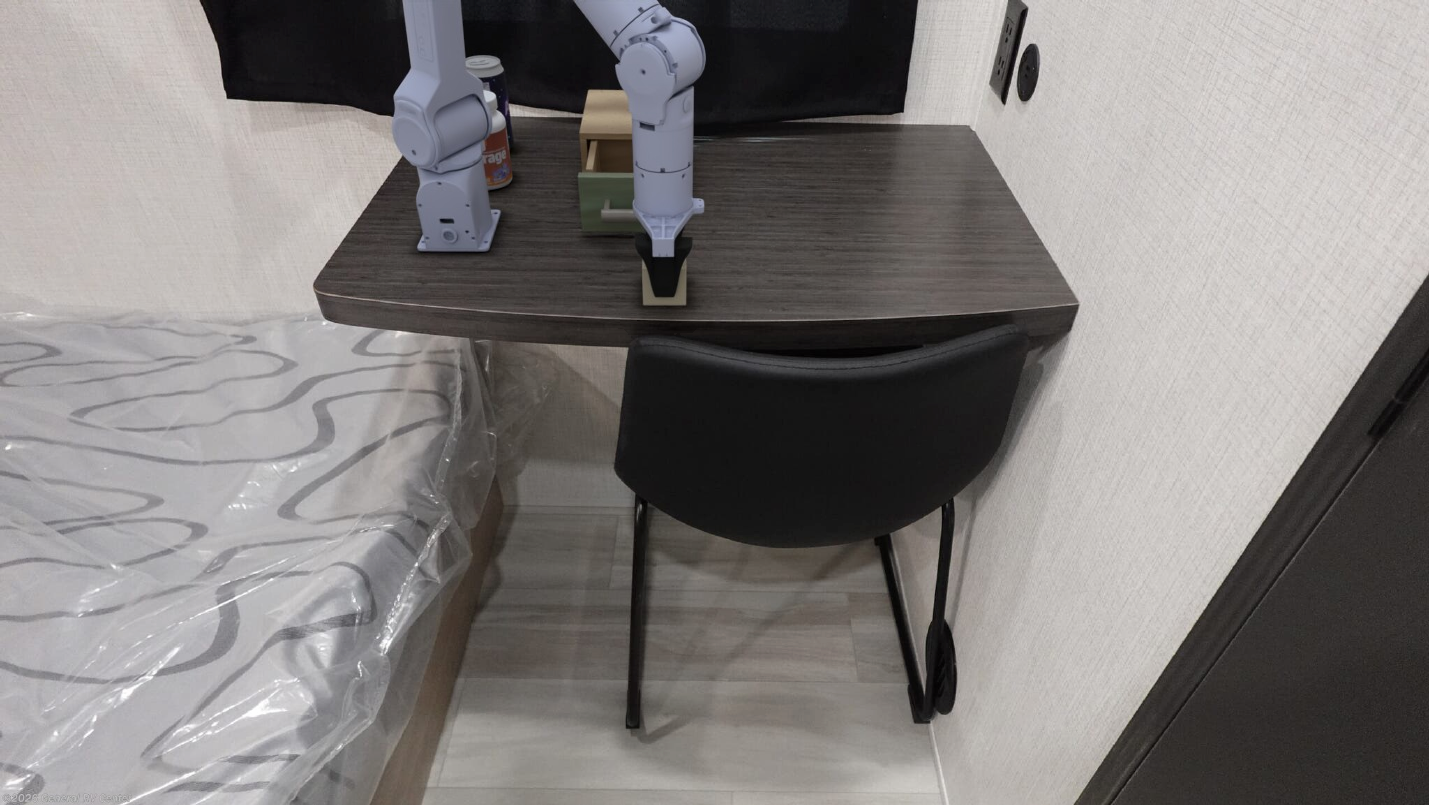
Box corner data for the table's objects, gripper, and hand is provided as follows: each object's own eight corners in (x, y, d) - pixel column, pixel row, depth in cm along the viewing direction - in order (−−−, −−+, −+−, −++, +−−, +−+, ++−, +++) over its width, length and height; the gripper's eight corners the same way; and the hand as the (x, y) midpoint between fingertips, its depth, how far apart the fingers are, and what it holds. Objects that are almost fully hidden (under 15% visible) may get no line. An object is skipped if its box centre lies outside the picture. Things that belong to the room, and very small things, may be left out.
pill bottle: (469, 195, 106) (454, 108, 99) (460, 175, 110) (445, 90, 103) (518, 187, 108) (507, 101, 101) (507, 168, 112) (496, 84, 105)
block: (686, 305, 88) (686, 268, 85) (643, 305, 88) (641, 268, 85) (685, 282, 91) (685, 246, 88) (644, 282, 91) (643, 245, 88)
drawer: (680, 250, 95) (680, 194, 90) (578, 249, 94) (574, 193, 90) (678, 181, 108) (678, 130, 104) (590, 180, 108) (586, 129, 103)
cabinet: (683, 199, 106) (684, 133, 101) (584, 198, 106) (579, 132, 100) (682, 152, 118) (682, 90, 112) (592, 151, 117) (588, 89, 112)
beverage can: (518, 155, 115) (506, 66, 108) (476, 160, 114) (462, 70, 106) (510, 139, 119) (498, 52, 112) (469, 144, 118) (455, 56, 110)
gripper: (707, 194, 74) (704, 321, 83) (702, 130, 85) (700, 248, 94) (627, 194, 74) (633, 321, 83) (633, 130, 85) (637, 248, 94)
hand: (664, 282), depth 88 cm, fingers closed on block, 4 cm apart
